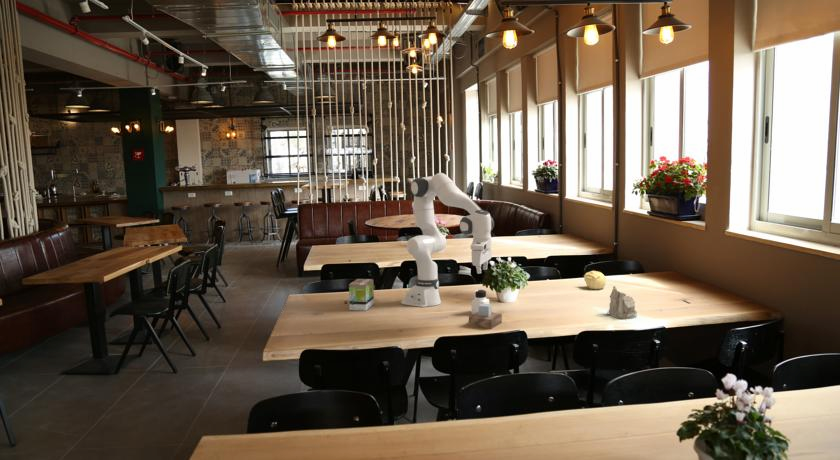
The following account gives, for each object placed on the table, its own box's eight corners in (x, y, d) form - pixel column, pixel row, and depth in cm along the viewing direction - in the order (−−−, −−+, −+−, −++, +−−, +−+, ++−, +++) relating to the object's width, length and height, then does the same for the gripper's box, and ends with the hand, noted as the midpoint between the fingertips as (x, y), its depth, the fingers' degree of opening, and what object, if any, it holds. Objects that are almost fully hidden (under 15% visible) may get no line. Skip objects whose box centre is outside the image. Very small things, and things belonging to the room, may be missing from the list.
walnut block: (468, 326, 296) (468, 316, 295) (479, 320, 306) (479, 310, 306) (491, 329, 290) (491, 319, 289) (501, 323, 300) (501, 313, 299)
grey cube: (478, 315, 297) (478, 305, 296) (481, 313, 301) (481, 303, 300) (488, 316, 295) (488, 306, 294) (491, 314, 299) (491, 304, 299)
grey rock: (621, 319, 299) (623, 289, 298) (602, 313, 315) (603, 284, 314) (648, 318, 304) (650, 288, 303) (628, 311, 319) (629, 283, 318)
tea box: (367, 311, 330) (365, 284, 328) (349, 310, 332) (348, 283, 330) (374, 304, 344) (373, 278, 342) (357, 303, 346) (356, 278, 344)
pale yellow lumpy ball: (581, 287, 370) (581, 270, 369) (596, 285, 375) (596, 268, 374) (593, 291, 360) (594, 273, 359) (609, 289, 365) (610, 271, 364)
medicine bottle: (489, 312, 321) (489, 289, 319) (483, 315, 315) (483, 292, 313) (477, 310, 324) (476, 288, 323) (471, 313, 318) (471, 291, 317)
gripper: (482, 240, 308) (482, 266, 310) (469, 246, 289) (469, 275, 291) (494, 240, 305) (494, 267, 307) (482, 247, 287) (482, 276, 288)
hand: (482, 271), depth 299 cm, fingers open, 8 cm apart
